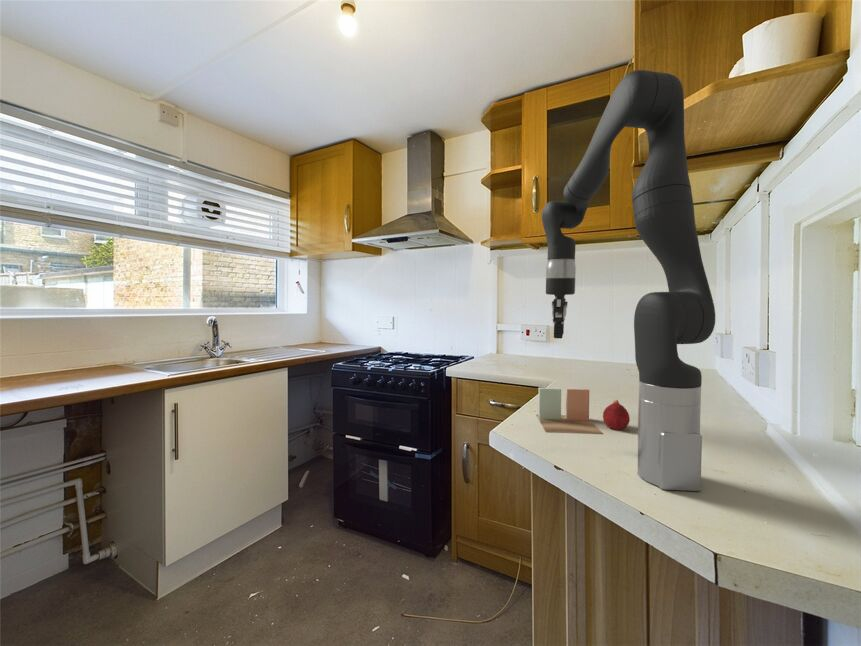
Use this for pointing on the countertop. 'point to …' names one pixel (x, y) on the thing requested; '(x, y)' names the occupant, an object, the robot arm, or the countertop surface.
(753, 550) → the countertop surface
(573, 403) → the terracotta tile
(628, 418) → the onion
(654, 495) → the countertop surface
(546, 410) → the sage tile
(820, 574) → the countertop surface
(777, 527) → the countertop surface
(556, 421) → the walnut board
